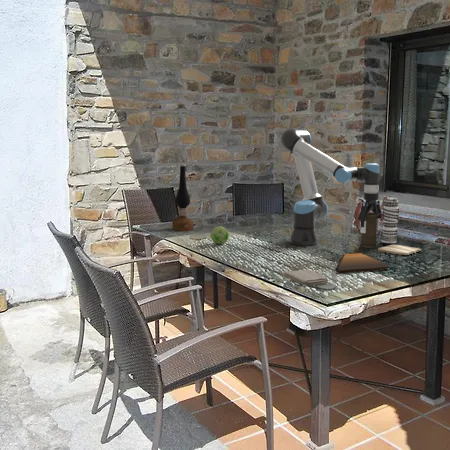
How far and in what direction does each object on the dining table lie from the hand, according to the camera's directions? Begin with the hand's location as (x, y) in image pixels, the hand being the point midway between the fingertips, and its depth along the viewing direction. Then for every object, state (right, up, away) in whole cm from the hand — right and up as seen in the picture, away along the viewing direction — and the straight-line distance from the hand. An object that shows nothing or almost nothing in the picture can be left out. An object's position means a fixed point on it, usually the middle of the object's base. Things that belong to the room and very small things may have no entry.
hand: (369, 231), depth 311 cm
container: (0, -8, +2) cm, 9 cm away
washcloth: (-44, -20, -67) cm, 83 cm away
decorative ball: (-82, -7, +3) cm, 82 cm away
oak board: (+13, -10, -10) cm, 20 cm away
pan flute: (-20, -16, -41) cm, 48 cm away
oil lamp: (-105, +1, +47) cm, 115 cm away
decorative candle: (+15, -6, +15) cm, 22 cm away
